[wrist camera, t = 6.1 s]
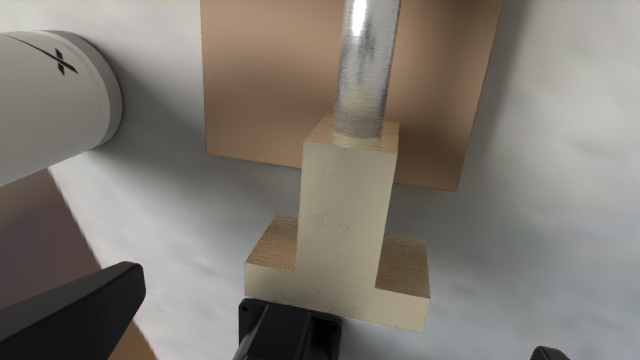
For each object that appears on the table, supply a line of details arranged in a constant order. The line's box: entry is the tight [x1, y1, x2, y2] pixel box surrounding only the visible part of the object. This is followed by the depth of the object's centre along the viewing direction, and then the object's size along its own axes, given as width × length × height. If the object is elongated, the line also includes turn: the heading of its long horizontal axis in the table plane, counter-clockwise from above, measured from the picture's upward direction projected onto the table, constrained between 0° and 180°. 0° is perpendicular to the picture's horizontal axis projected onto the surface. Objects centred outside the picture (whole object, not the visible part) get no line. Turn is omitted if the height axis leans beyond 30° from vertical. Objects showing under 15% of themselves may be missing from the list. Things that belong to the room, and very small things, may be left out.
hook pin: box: [245, 0, 430, 333], centre depth 14 cm, size 14×7×4 cm, turn 176°
